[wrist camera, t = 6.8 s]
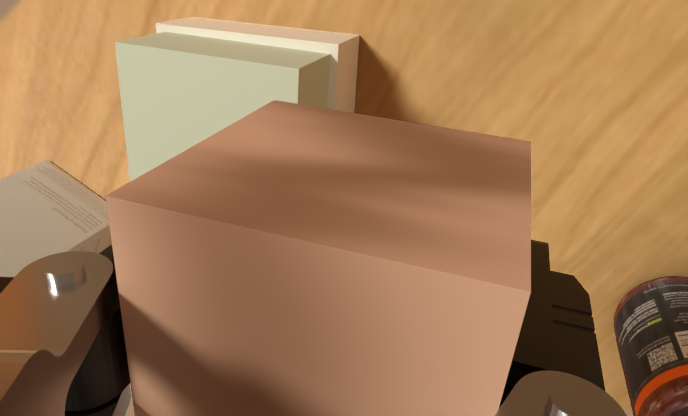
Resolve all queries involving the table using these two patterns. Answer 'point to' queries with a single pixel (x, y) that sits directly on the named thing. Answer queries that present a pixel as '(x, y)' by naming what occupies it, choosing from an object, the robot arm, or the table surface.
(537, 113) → the table surface
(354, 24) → the table surface
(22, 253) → the supplement box
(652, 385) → the supplement bottle
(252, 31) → the tower base
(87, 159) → the table surface
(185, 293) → the terracotta cube
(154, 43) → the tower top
